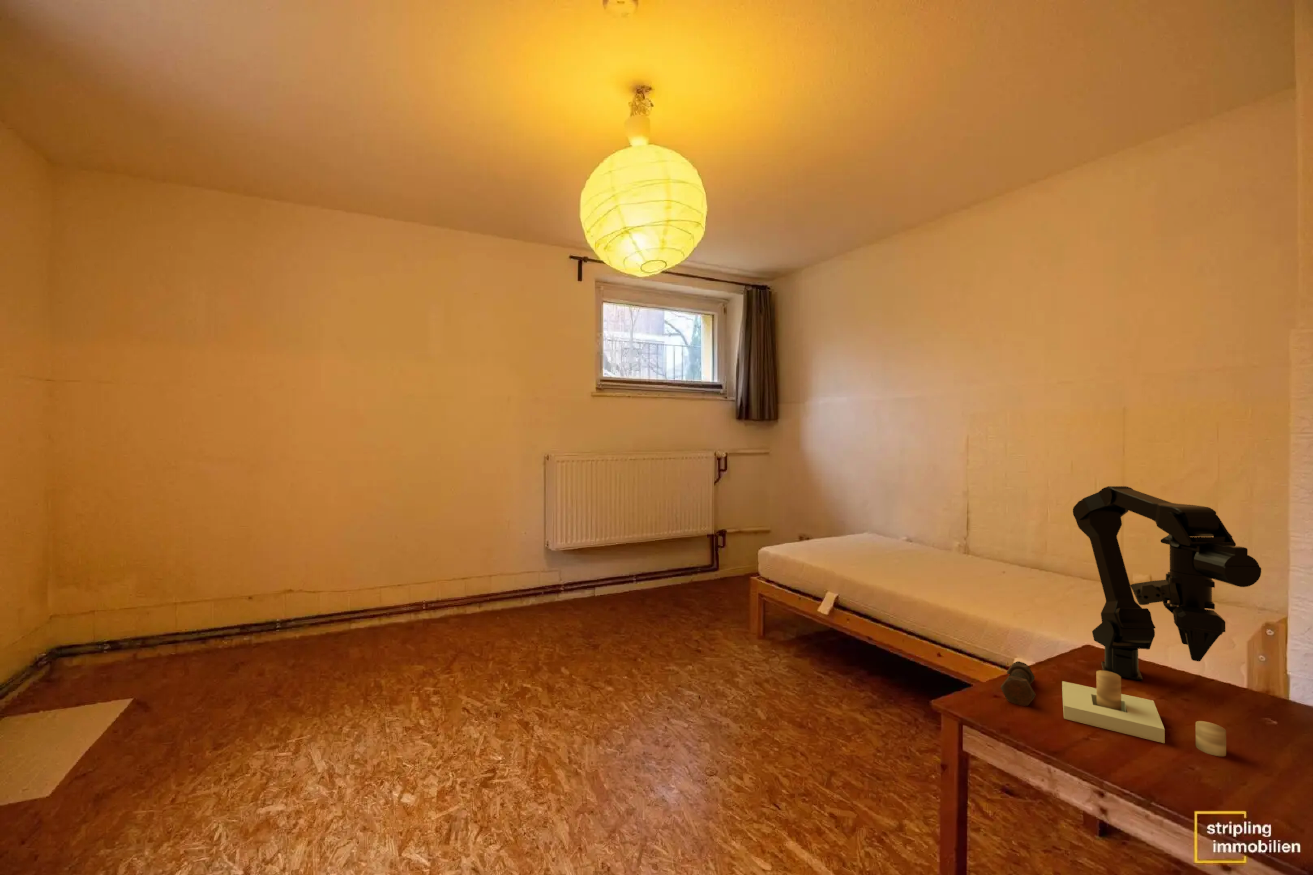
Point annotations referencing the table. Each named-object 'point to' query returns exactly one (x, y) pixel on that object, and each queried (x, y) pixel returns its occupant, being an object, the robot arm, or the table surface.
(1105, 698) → the long pin
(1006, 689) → the bolt
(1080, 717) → the board
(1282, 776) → the table surface
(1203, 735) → the short pin
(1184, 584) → the robot arm
